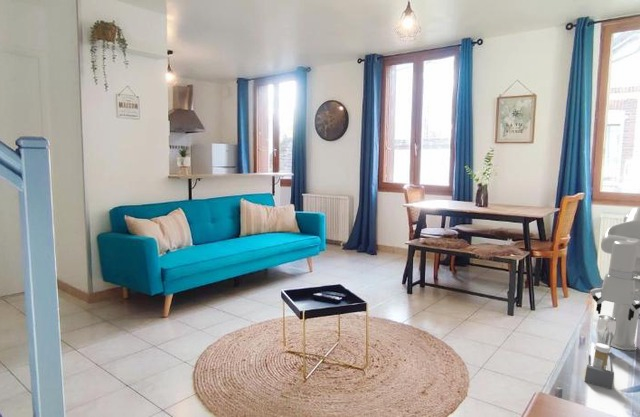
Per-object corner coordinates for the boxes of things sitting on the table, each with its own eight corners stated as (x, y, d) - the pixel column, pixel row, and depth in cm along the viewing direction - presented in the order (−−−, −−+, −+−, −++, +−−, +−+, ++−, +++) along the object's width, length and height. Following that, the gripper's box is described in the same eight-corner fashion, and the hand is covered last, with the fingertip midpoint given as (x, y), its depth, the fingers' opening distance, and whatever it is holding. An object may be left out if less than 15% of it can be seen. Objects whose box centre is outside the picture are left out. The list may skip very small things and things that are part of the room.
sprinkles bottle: (607, 381, 162) (613, 348, 160) (596, 381, 162) (601, 348, 160) (599, 374, 167) (604, 342, 165) (587, 374, 166) (593, 342, 164)
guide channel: (585, 353, 184) (587, 340, 183) (609, 359, 180) (611, 346, 179) (584, 381, 161) (586, 366, 160) (611, 389, 157) (614, 374, 156)
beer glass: (595, 352, 185) (600, 319, 183) (591, 345, 192) (596, 313, 189) (614, 355, 183) (619, 322, 181) (609, 348, 189) (614, 316, 187)
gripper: (648, 275, 159) (641, 318, 162) (593, 266, 168) (587, 307, 171) (650, 281, 153) (642, 325, 156) (593, 271, 162) (587, 313, 165)
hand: (613, 315), depth 164 cm, fingers open, 9 cm apart
